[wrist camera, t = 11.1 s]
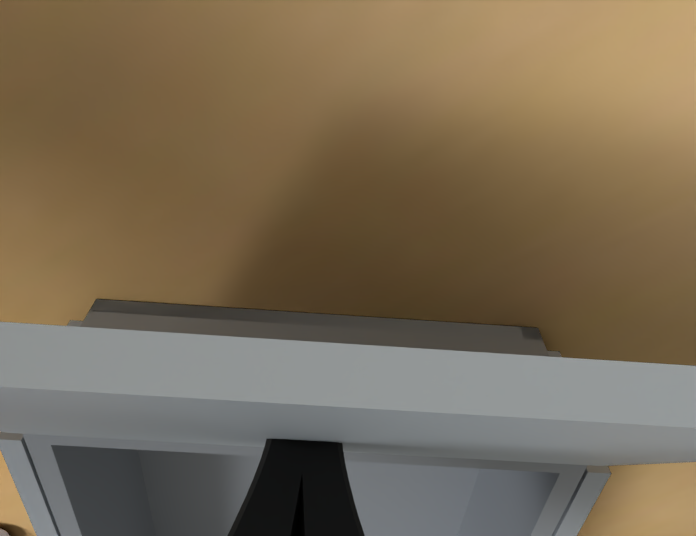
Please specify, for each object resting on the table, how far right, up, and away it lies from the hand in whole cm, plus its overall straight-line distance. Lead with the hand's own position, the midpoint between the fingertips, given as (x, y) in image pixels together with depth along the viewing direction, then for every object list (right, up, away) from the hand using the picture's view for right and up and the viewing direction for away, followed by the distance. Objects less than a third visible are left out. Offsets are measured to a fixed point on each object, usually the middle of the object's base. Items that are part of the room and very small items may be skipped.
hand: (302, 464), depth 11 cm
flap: (0, +1, -2) cm, 2 cm away
